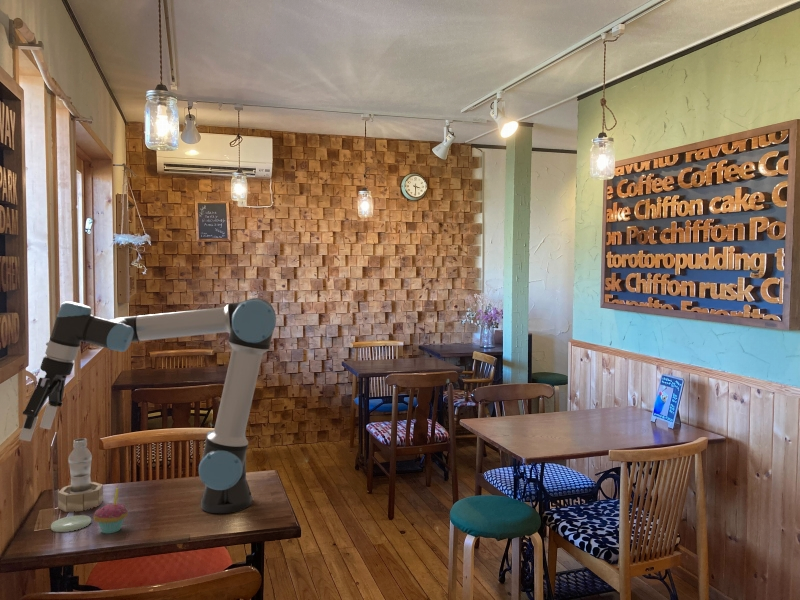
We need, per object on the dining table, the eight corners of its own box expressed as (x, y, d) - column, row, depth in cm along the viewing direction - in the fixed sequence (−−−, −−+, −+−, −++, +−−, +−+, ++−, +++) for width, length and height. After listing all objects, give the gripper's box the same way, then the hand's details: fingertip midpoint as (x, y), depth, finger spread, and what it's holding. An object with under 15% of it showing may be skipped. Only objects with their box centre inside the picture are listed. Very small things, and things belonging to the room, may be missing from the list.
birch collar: (109, 502, 191) (109, 486, 191) (72, 514, 181) (72, 497, 181) (88, 495, 197) (88, 480, 197) (52, 506, 188) (52, 490, 187)
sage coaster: (98, 523, 175) (98, 520, 175) (62, 535, 167) (62, 532, 167) (79, 515, 181) (79, 512, 181) (43, 526, 172) (43, 524, 172)
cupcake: (119, 521, 176) (118, 480, 176) (133, 529, 171) (133, 486, 170) (88, 531, 169) (87, 488, 169) (102, 539, 164) (102, 495, 164)
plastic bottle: (98, 501, 192) (97, 438, 191) (81, 509, 185) (80, 443, 184) (81, 499, 193) (80, 436, 193) (63, 507, 187) (62, 442, 186)
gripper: (61, 349, 178) (38, 420, 177) (25, 359, 154) (-1, 441, 153) (88, 356, 179) (65, 427, 179) (57, 367, 155) (30, 449, 154)
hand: (35, 434), depth 166 cm, fingers open, 13 cm apart
